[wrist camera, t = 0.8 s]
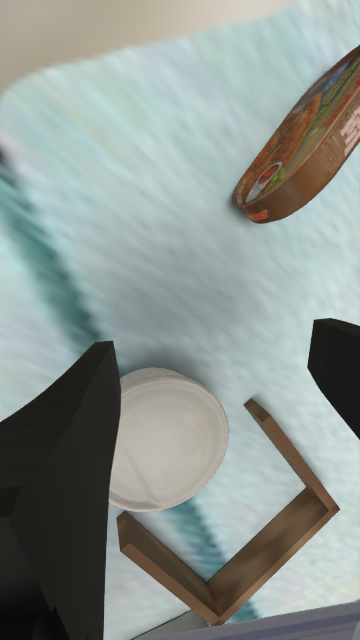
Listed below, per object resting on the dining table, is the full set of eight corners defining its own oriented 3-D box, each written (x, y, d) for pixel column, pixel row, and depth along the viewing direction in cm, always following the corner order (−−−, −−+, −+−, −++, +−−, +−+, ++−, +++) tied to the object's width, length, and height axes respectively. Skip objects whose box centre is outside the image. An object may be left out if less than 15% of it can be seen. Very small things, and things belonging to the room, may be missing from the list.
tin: (319, 72, 27) (416, -7, 19) (340, 101, 28) (441, 38, 20) (216, 210, 26) (271, 189, 19) (241, 235, 28) (303, 225, 20)
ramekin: (57, 444, 26) (50, 487, 21) (127, 333, 26) (136, 350, 21) (165, 486, 30) (180, 531, 25) (226, 389, 30) (254, 414, 25)
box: (204, 593, 34) (217, 629, 31) (116, 518, 29) (120, 551, 26) (316, 486, 36) (340, 509, 32) (251, 398, 31) (270, 415, 28)
